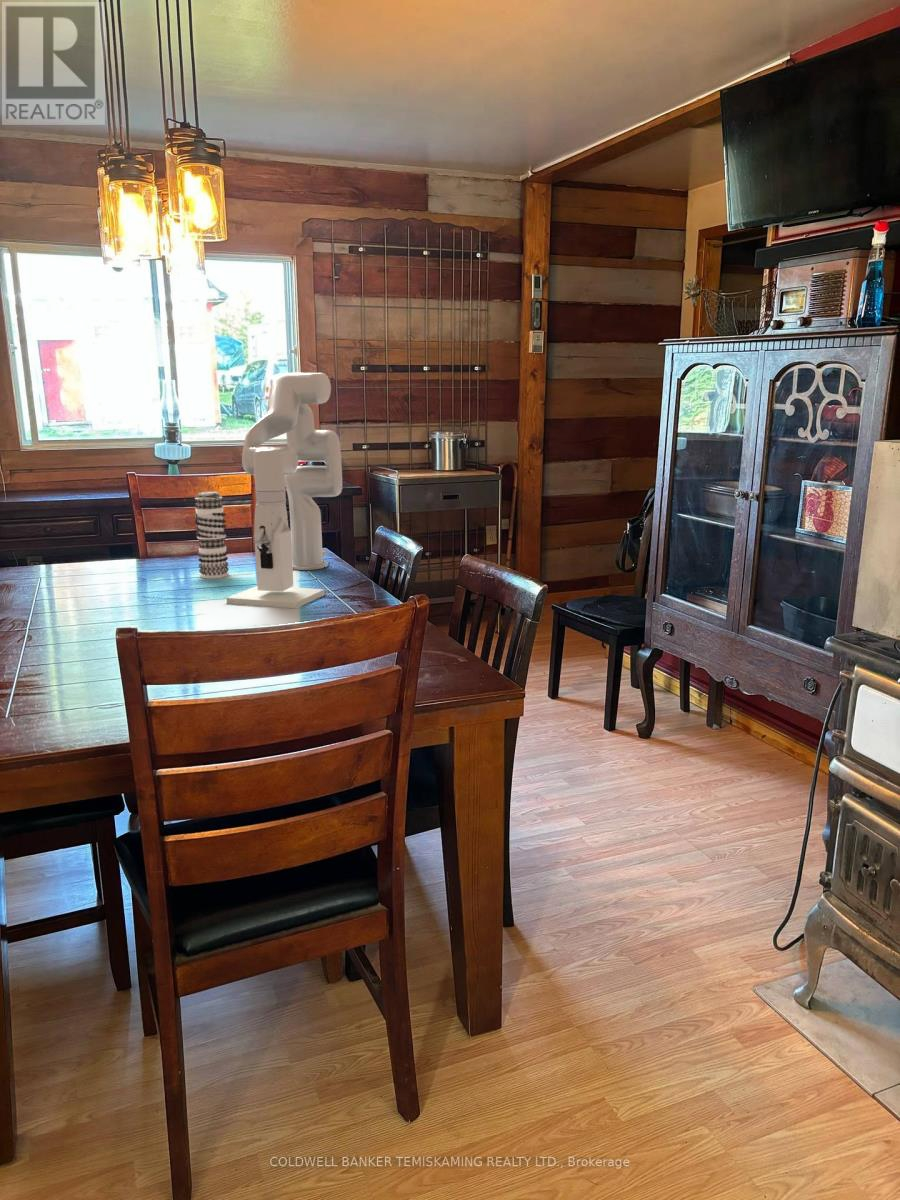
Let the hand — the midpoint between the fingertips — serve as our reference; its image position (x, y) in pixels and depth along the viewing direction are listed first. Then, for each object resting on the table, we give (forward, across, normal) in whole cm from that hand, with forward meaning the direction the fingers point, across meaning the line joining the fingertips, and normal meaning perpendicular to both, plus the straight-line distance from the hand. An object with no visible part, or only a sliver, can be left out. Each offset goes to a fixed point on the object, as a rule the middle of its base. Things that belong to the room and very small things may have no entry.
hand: (274, 564), depth 214 cm
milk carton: (+7, 0, 0) cm, 7 cm away
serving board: (+9, 0, 0) cm, 9 cm away
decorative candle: (+10, -23, -34) cm, 42 cm away
